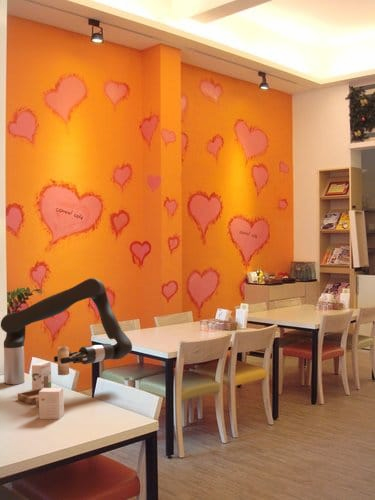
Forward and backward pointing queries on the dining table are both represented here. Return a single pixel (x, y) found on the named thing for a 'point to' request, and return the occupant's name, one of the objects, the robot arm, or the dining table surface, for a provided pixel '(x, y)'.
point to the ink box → (41, 375)
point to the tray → (29, 396)
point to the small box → (51, 403)
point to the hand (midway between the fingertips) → (57, 360)
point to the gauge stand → (44, 387)
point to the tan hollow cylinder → (64, 368)
